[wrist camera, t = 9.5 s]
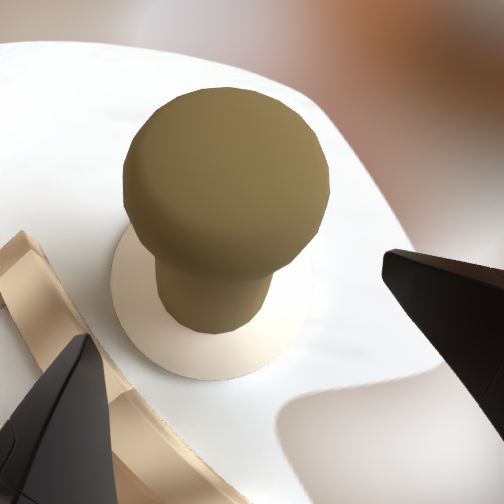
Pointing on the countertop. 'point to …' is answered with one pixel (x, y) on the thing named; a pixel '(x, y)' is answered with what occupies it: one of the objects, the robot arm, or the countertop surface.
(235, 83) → the countertop surface
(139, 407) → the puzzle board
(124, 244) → the ceramic pad
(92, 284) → the countertop surface
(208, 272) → the cork
